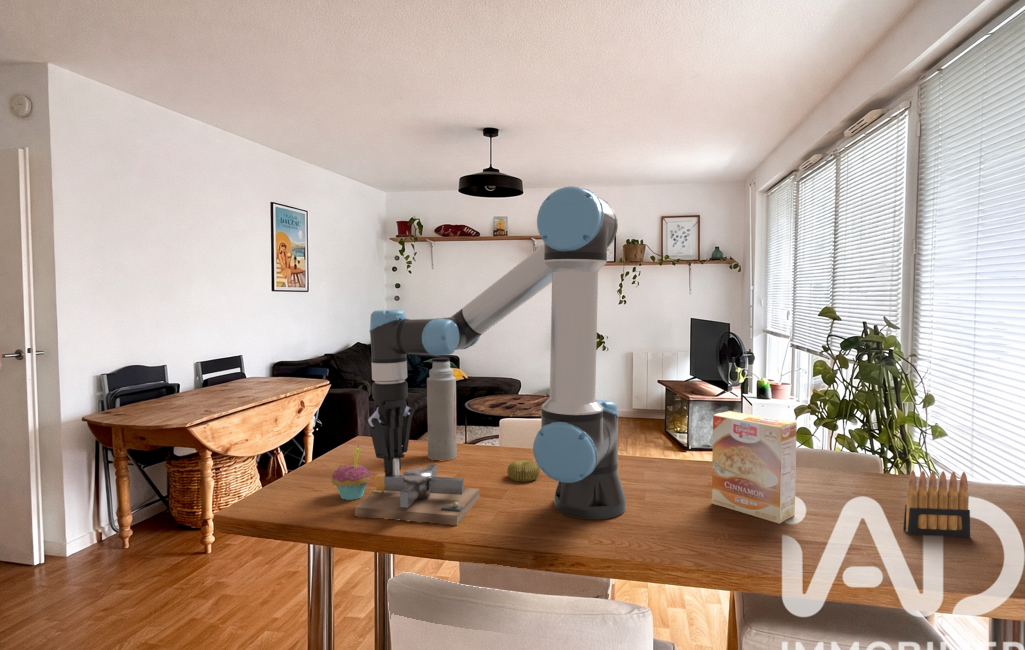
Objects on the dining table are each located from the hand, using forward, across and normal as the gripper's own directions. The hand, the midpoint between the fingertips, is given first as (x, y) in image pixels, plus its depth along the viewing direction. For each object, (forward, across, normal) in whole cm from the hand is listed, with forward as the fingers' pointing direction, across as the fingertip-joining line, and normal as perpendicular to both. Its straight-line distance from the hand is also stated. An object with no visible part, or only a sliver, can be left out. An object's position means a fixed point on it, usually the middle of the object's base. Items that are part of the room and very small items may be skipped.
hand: (393, 487), depth 127 cm
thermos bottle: (+4, -33, -13) cm, 35 cm away
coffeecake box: (+5, -36, +68) cm, 77 cm away
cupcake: (+3, +3, -10) cm, 11 cm away
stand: (+3, -1, +7) cm, 8 cm away
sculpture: (+4, -29, +16) cm, 33 cm away
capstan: (+1, -1, +7) cm, 7 cm away
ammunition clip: (+5, -41, +99) cm, 108 cm away
